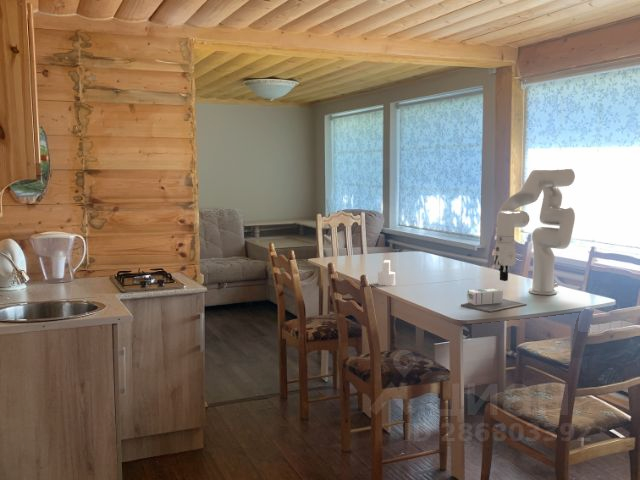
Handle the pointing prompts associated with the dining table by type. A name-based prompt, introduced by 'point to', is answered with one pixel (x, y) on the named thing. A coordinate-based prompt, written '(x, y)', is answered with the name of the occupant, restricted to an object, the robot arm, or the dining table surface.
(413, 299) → the dining table surface
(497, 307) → the mat
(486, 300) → the syrup box
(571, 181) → the robot arm
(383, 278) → the base with upright slab
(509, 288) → the dining table surface
